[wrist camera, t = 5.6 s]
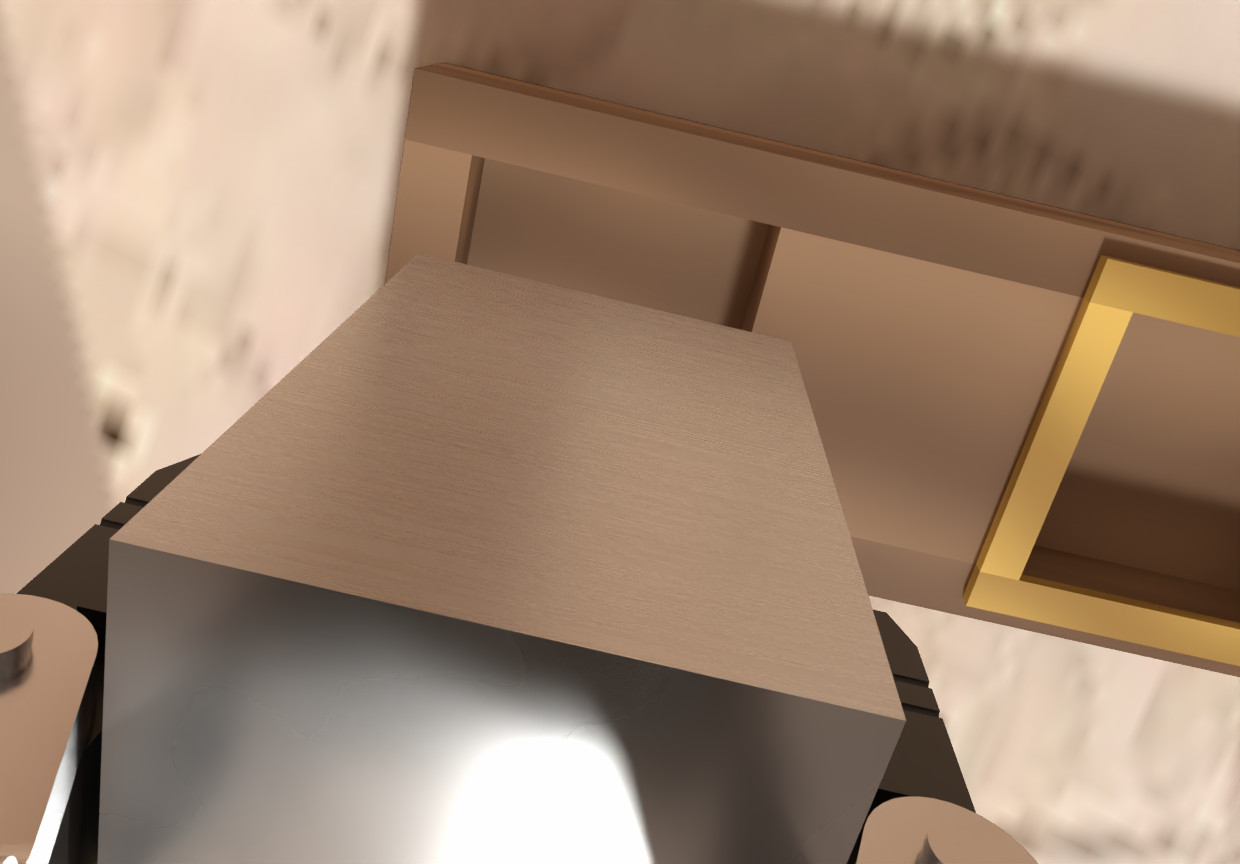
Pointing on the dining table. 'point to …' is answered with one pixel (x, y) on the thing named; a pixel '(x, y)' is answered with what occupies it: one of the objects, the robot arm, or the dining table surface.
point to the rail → (898, 346)
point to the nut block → (499, 603)
